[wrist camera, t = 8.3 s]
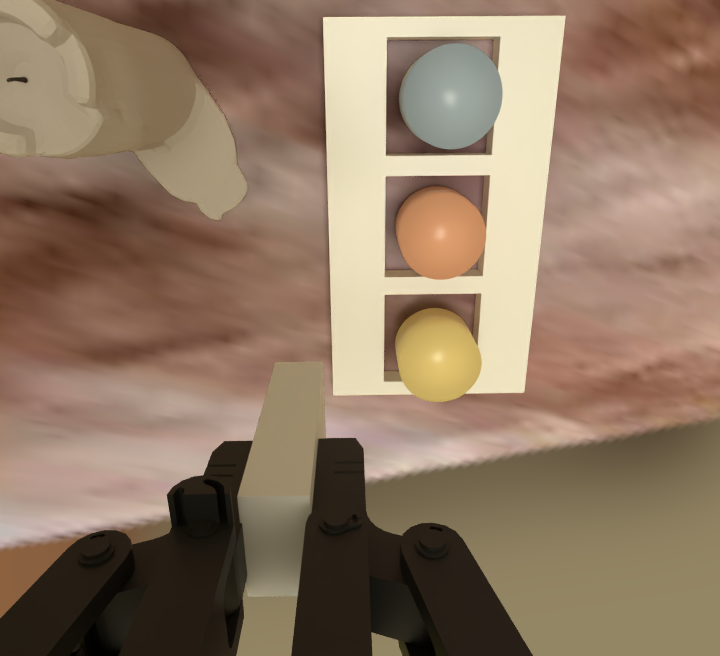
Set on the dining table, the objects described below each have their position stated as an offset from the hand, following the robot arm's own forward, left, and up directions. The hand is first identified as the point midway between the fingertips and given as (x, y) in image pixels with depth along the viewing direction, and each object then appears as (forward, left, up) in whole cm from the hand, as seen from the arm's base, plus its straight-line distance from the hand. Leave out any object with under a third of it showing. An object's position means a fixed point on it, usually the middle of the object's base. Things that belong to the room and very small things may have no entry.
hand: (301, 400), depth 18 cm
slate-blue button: (+8, +9, -25) cm, 28 cm away
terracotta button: (+8, 0, -27) cm, 28 cm away
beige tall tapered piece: (-11, +7, -29) cm, 31 cm away
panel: (+8, 0, -28) cm, 30 cm away
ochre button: (+8, -9, -25) cm, 28 cm away
